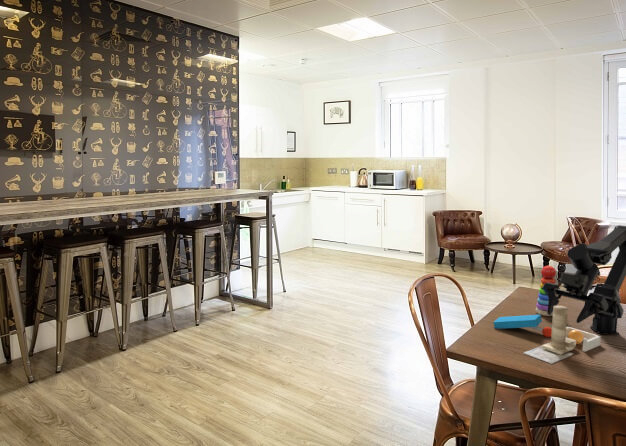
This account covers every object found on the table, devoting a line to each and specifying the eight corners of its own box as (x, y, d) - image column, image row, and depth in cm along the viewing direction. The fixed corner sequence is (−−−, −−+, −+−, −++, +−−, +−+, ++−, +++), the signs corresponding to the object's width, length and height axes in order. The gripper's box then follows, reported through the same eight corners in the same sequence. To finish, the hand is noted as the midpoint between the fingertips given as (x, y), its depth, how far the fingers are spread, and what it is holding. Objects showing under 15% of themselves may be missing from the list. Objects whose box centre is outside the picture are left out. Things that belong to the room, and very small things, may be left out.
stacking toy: (559, 312, 188) (562, 265, 185) (556, 318, 181) (560, 269, 178) (537, 308, 192) (540, 262, 189) (533, 314, 185) (537, 266, 182)
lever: (497, 341, 171) (551, 339, 160) (493, 322, 171) (546, 319, 160) (504, 335, 176) (556, 333, 165) (499, 317, 177) (551, 313, 165)
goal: (567, 335, 164) (568, 323, 164) (600, 345, 156) (601, 333, 155) (552, 340, 159) (553, 329, 159) (585, 351, 150) (586, 339, 150)
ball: (570, 329, 156) (567, 343, 156) (585, 333, 154) (583, 346, 154) (568, 327, 160) (566, 340, 160) (583, 330, 158) (581, 343, 158)
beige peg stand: (558, 341, 157) (561, 301, 155) (577, 347, 152) (580, 306, 150) (542, 347, 152) (545, 307, 150) (560, 354, 147) (563, 312, 145)
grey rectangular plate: (545, 345, 156) (545, 344, 156) (573, 354, 148) (573, 353, 148) (523, 353, 149) (523, 352, 149) (551, 364, 142) (551, 363, 142)
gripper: (547, 258, 159) (525, 296, 155) (606, 269, 143) (584, 312, 139) (558, 277, 164) (538, 315, 160) (617, 290, 149) (596, 332, 145)
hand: (562, 318), depth 151 cm, fingers open, 9 cm apart
